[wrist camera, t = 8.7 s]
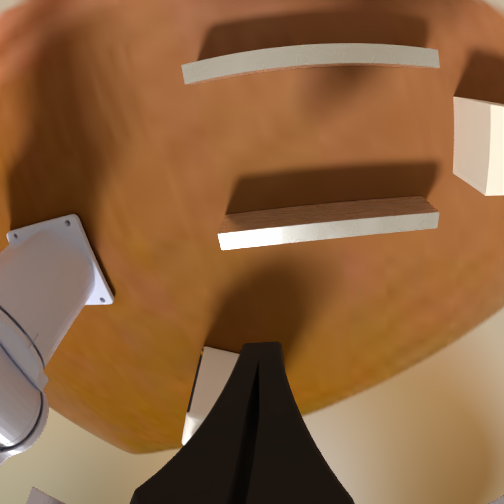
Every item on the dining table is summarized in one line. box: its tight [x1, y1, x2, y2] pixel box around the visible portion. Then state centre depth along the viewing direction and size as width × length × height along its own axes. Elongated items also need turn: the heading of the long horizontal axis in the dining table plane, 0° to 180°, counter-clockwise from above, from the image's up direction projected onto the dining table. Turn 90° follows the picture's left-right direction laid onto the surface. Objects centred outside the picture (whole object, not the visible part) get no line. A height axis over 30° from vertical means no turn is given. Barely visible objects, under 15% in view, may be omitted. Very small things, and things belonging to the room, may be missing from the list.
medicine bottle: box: [182, 346, 239, 445], centre depth 22 cm, size 7×7×12 cm
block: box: [453, 97, 504, 196], centre depth 12 cm, size 5×5×4 cm
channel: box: [181, 43, 440, 250], centre depth 14 cm, size 12×10×2 cm
